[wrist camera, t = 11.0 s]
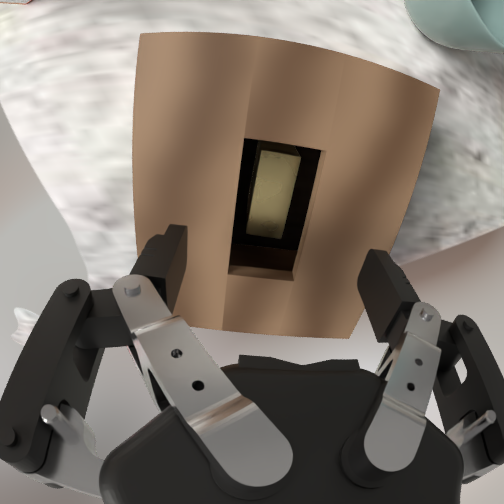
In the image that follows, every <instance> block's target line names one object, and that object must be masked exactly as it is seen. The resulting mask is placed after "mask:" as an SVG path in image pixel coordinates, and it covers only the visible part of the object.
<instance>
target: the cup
mask: <svg viewBox="0 0 504 504" xmlns="http://www.w3.org/2000/svg"><path fill="white" fill-rule="evenodd" d="M404 4H405V8H406V10H407V12H408V15H409V16H410V18H411V20H412V21H413V23H414V24H415V26H416V27H417V28H418V29H419V30H420V31H421V32H422V33H423V34H424V35H425V36H426V37H427V38H429V39H430V40H432V41H433V42H435V43H437V44H440V45H442V46H445V47H449V48H453V49H459V50H465V51H474V52H486V53H498V54H504V0H404Z"/></svg>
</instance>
